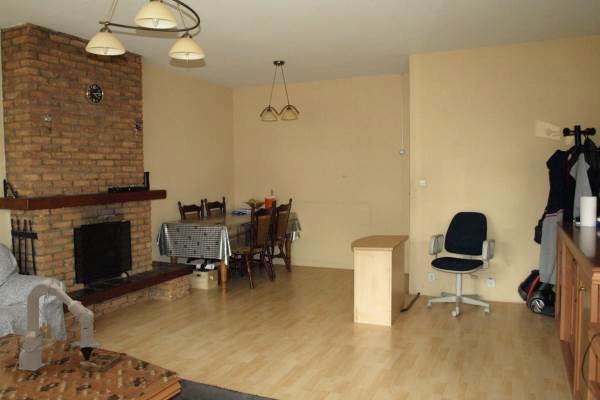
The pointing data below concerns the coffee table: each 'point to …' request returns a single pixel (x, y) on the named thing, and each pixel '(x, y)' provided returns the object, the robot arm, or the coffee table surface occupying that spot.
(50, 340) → the ceramic cottage
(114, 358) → the holder
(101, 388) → the coffee table surface
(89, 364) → the lighter
